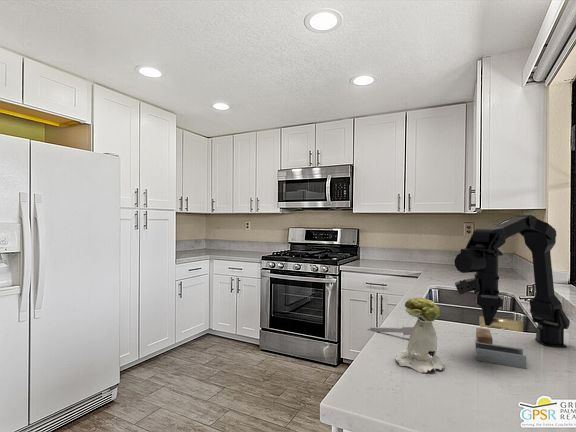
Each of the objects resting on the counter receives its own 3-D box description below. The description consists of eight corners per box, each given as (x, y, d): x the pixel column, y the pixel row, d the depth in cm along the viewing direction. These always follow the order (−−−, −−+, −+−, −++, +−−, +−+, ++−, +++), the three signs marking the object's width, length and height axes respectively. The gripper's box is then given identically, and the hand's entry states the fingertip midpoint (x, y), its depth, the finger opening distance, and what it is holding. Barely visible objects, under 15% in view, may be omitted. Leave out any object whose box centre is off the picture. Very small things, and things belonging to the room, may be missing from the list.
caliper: (424, 343, 114) (424, 324, 114) (423, 344, 113) (423, 325, 113) (368, 330, 127) (368, 313, 127) (367, 330, 126) (367, 313, 126)
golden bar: (521, 329, 99) (521, 319, 99) (522, 333, 97) (523, 323, 96) (479, 324, 104) (479, 314, 104) (480, 328, 101) (480, 318, 101)
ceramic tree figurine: (407, 351, 106) (407, 291, 106) (451, 363, 97) (451, 298, 97) (389, 363, 97) (389, 297, 97) (435, 377, 88) (435, 305, 89)
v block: (522, 359, 100) (522, 348, 101) (526, 368, 94) (526, 357, 94) (475, 352, 106) (475, 341, 106) (476, 360, 100) (476, 349, 100)
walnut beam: (489, 341, 116) (489, 329, 116) (492, 351, 107) (492, 338, 107) (476, 339, 117) (476, 327, 117) (477, 349, 108) (477, 336, 108)
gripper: (456, 265, 114) (456, 312, 114) (456, 273, 97) (456, 328, 97) (495, 268, 109) (495, 317, 109) (502, 276, 92) (502, 334, 92)
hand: (486, 323), depth 102 cm, fingers closed on golden bar, 3 cm apart
